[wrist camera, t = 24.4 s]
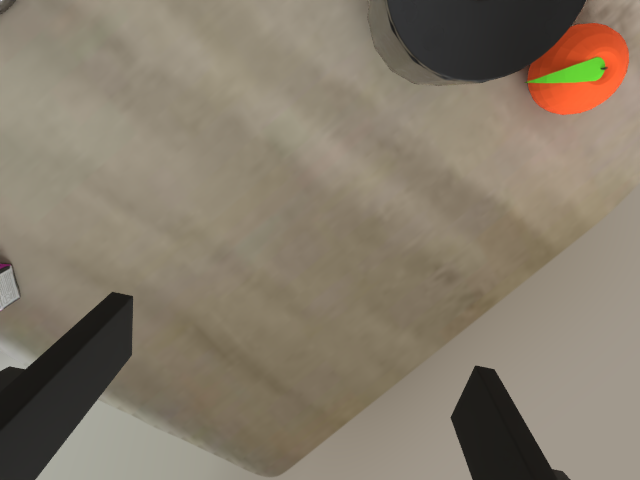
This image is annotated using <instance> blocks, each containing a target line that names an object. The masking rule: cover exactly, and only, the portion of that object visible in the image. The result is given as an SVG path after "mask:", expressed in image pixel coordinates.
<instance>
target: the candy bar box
mask: <svg viewBox="0 0 640 480" xmlns="http://www.w3.org/2000/svg"><path fill="white" fill-rule="evenodd" d="M19 298H20V292H19V288H18V285H17V282H16V279H15V275H14V271H13V268H12V265H10V264H0V311H1V310H3V309H4V308H6V307H7V306H9V305H10V304H12V303H13V302H15V301H16V300H17V299H19Z"/></svg>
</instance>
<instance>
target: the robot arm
mask: <svg viewBox="0 0 640 480" xmlns="http://www.w3.org/2000/svg"><path fill="white" fill-rule="evenodd" d="M15 1H16V0H0V15H1V14H2V13H3V12H5V11H6V10H7V9H8V8H9V7H10V6H12V4H13V3H14V2H15ZM132 321H133V296H130V295H125V294H120V293H115V292H112V293H110V294H109V295H108V296H107V297H106V298H105V299H104V300H103V301H102V302H100V303H99V304H98V305H97V306H96V307H95V308H94V309H93V310H91V311H90V312H89V313H88V314H87V315H86V316H85V317H84V318H83V319H81V320H80V321H79V322H78V323H77V324H76V325H75V326H74V327H72V328H71V329H70V330H69V331H68V332H67V333H66V334H65V335H63V336H62V337H61V338H60V339H59V340H58V341H57V342H56V343H55V344H53V345H52V346H51V347H50V348H49V349H48V350H47V351H46V352H44V353H43V354H42V355H41V356H40V357H39V358H38V359H37V360H36V361H34V362H33V363H32V364H31V365H30V366H29V367H28V368H27V369H20V368H15V367H8V368H6V369H4V370H2V371H0V480H35V479H36V478H37V477H38V475H39V474H40V473H41V472H42V470H43V469H44V468H45V466H46V465H47V464H48V463H49V461H50V460H51V459H52V457H53V456H54V455H55V454H56V452H57V451H58V449H59V448H60V447H61V446H62V444H63V443H64V442H65V440H66V439H67V438H68V437H69V435H70V434H71V433H72V432H73V430H74V429H75V428H76V426H77V425H78V424H79V423H80V421H81V420H82V419H83V417H84V416H85V415H86V413H87V412H88V411H89V409H90V408H91V407H92V406H93V404H94V403H95V402H96V401H97V399H98V398H99V397H100V395H101V394H102V393H103V392H104V390H105V389H106V388H107V386H108V385H109V384H110V383H111V381H112V380H113V379H114V377H115V376H116V375H117V374H118V372H119V371H120V370H121V368H122V367H123V366H124V364H125V363H126V362H127V361H128V359H129V358H130V357H131V355H132ZM451 420H452V422H453V425H454V428H455V431H456V434H457V437H458V439H459V442H460V445H461V448H462V450H463V454H464V456H465V459H466V462H467V465H468V468H469V471H470V473H471V476H472V479H473V480H570V479H569V478H568V477H567V475H566V474H565V473H564V472H563V471H558V470H553V469H551V467H550V465H549V463H548V462H547V460H546V458H545V457H544V455H543V453H542V451H541V449H540V448H539V446H538V444H537V442H536V441H535V439H534V437H533V436H532V434H531V432H530V430H529V429H528V427H527V425H526V423H525V422H524V420H523V418H522V416H521V415H520V413H519V411H518V409H517V408H516V406H515V404H514V402H513V401H512V399H511V397H510V396H509V394H508V392H507V390H506V389H505V387H504V385H503V383H502V382H501V380H500V378H499V376H498V375H497V373H496V371H495V370H494V369H490V368H485V367H480V366H475V367H474V369H473V371H472V374H471V376H470V378H469V380H468V382H467V384H466V386H465V388H464V390H463V392H462V395H461V397H460V399H459V401H458V403H457V405H456V407H455V410H454V412H453V414H452V416H451Z"/></svg>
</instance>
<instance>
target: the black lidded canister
mask: <svg viewBox="0 0 640 480" xmlns="http://www.w3.org/2000/svg"><path fill="white" fill-rule="evenodd" d="M585 1H586V0H369V9H368V22H369V26H370V30H371V35H372V39H373V43H374V47H375V49H376V50H377V52H378V53H379V55H380V56H381V57H382V59H383V60H384V62H385V63H386V64H387V66H388V67H389V69H390V70H391V71H393V72H394V73H396V74H398V75H400V76H401V77H403V78H405V79H407V80H408V81H410V82H412V83H414V84H425V85H436V86H443V85H459V84H474V83H483V82H486V81H489V80H493V79H497V78H501V77H505V76H507V75H510V74H512V73H515V72H517V71H519V70H521V69H523V68H525V67H526V66H528V65H530V64H531V63H533V62H534V61H536V60H537V59H539V58H540V57H541V56H543V55H544V54H545V53H546V52H547V51H548V50H550V49H551V48H552V47H553V46H554V45H555V44H556V43H557V42H558V41H559V40H560V38H561V37H562V36H563V35H564V34H565V33H566V31H567V30H568V29H569V27H570V26H571V25H572V23H573V22H574V21H575V19H576V17H577V16H578V14H579V12H580V11H581V9H582V8H583V6H584V4H585Z"/></svg>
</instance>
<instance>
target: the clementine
mask: <svg viewBox="0 0 640 480" xmlns="http://www.w3.org/2000/svg"><path fill="white" fill-rule="evenodd" d="M628 63H629V52H628V48H627V45H626V42H625V40H624V39H623V38H622V36H621V35H620V34H619V33H618V32H616V31H614V30H613V29H611V28H610V27H608V26H606V25H602V24H597V23H588V24H578V25H574V26H572V27H569V29H568V30H567V31H566V33H565V34H564V35H563V36H562V37H561V38H560V40H559V41H558V42H557V43H556V44H555V45H554V46H553V47H552V48H551V49H550V50H548V51H547V52H546V53H545V54H544V55H543V56H541V57H540V58H539V59H537V60H536V61H534V62H533V63H531V65H530V68H529V72H528V81H527V82H524V83H528V87H529V91H530V93H531V95H532V97H533V100H534V101H535V102H536V103H537V104H538V105H539V106H540V107H542V108H543V109H545V110H547V111H549V112H552V113H556V114H561V115H565V114H576V113H581V112H584V111H587V110H590V109H592V108H594V107H596V106H597V105H599V104H601V103H602V102H604V101H605V100H607V99H608V98H609V97H610V96H611V95H612V94H613V93H614V92H615V91H616V90H617V88H618V87H619V86H620V84H621V83H622V81H623V79H624V77H625V74H626V72H627V68H628Z"/></svg>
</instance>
